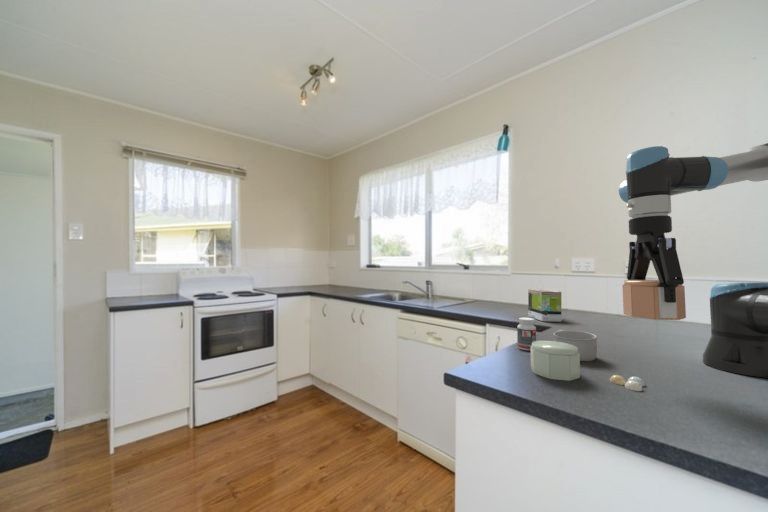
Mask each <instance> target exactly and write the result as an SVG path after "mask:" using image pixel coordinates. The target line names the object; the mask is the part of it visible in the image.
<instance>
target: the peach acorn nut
mask: <svg viewBox="0 0 768 512" xmlns="http://www.w3.org/2000/svg"><path fill="white" fill-rule="evenodd" d="M665 281H666V280H665ZM623 283H624V284H621V285H622V288H621V289H622V303H623V304H622V307H623V309H622V310H623V311H622V312H623V315H626V316H628V317H632V318H639V319H646V320H656V321H657V320H658V321H661V320H662V321H663V320H664V321H680V320H681V321H682V320H684V319H687V314H686V311H687V310H686V293H685V285H683V284H681V285H678V286H677V287H676V310H677V318H660V317H659V296H658V287H657V285H658V284H659V283H660V282H659V279H646V280H628V279H625V280H623Z"/></svg>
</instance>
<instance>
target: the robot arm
mask: <svg viewBox="0 0 768 512" xmlns="http://www.w3.org/2000/svg"><path fill="white" fill-rule="evenodd" d="M670 155H671V154H670V153H669V149H668V147H666V146H663V145H658V146H657V145H656V146H648V147H643V148H640V149H638V150H635V151H632V152H631V153H629V155H627V158H626V163H625V166H626V168H625V169H626V171H625V174H626V175H625V176H626V179H625V180H623V181H621V183H620V185H619V187H618V195H619V198H620V199H621V201H623V202H625V204H626V205H625V206H626V208H627V211H628V212H627V213H628V217H629V218H630V219H629V220H628V234H629V235H631V236H636V241H630V242H629V244H628V247H629V256H628V265H627V275H626V280H647V275H648V274H647V273H648V271H649V267H650V264H652V265H653V269H654V270H655V273H656V276H657V278H658V279H657V280H659V282H660V283H659V284H658V285H657V287H658V296H659V317H660V318H677V310H676V287H677V286H678V285H681V284H682V285H684V283H685V281H684V276H683V273H682V272H683V271H682V269H681V268H682V267H681V264H680V261H679V255H678V252H677V239H676V237H666V236H665V234H668V233H671V232H672V230H673V226H672V225H673V224H672V216H670V214H671V213H672V200H671V199H672V198H671V197H672V196H676V195H681V194H686V193H691V192H695V191H697V192H701V191H706V190H713V189H716V188H718V187H720V186H726V185H729V184H735V183H739V182H745V181H750V182H755V183H756V182H763V181H767V180H768V142H767V143H764V144H760V145H756V146H755V145H754V146H752V147H749V148H747V149H746V150H745V151H744V152H740V153H739V152H738V153H735V154H731V155H725V156H721V157H717V156H707V155H701V156H686V157H685V156H684V157H682V156H681V157H673V156H671V157H670ZM651 262H652V263H651ZM665 280H666V281H665ZM709 307H710V308H709V309H710V329H711V330H710V331H711V333H710V335H711V336H710V339H709V341H708V342H707V345H706V347H705V349H704V351H703V353H702V362H703V363H704V365H707V366H708V367H712V368H714V369H718V370H721V371H724V372H729V373H734V374H738V375H746V376H751V377H757V378H766V379H768V282H761V281H760V282H734V283H733V282H731V283H717V284H714V285H713V286H712V287H711V288H710V297H709Z"/></svg>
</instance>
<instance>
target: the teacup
mask: <svg viewBox="0 0 768 512" xmlns="http://www.w3.org/2000/svg"><path fill="white" fill-rule="evenodd" d="M552 335H553V341H556V342H562V343H567V344H571V345H574V346H576V347H577V348H578V353H579V354H580V362H592V361H594V360H596V358H597V355H598V341H597V339H598V337H597V335H596V334H593V333H591V332H588V331H580V330H564V329H557V331H555V332H553V334H552Z"/></svg>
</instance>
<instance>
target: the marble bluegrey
mask: <svg viewBox="0 0 768 512" xmlns="http://www.w3.org/2000/svg"><path fill="white" fill-rule="evenodd" d="M628 381H636V382H638V383H639V384H640V385H641V386H642V388H643V387H645V382H644V380H643V379H641V378H640V377H638V376H630V377H629V378H628V379H627V381H626V382H628Z"/></svg>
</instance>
